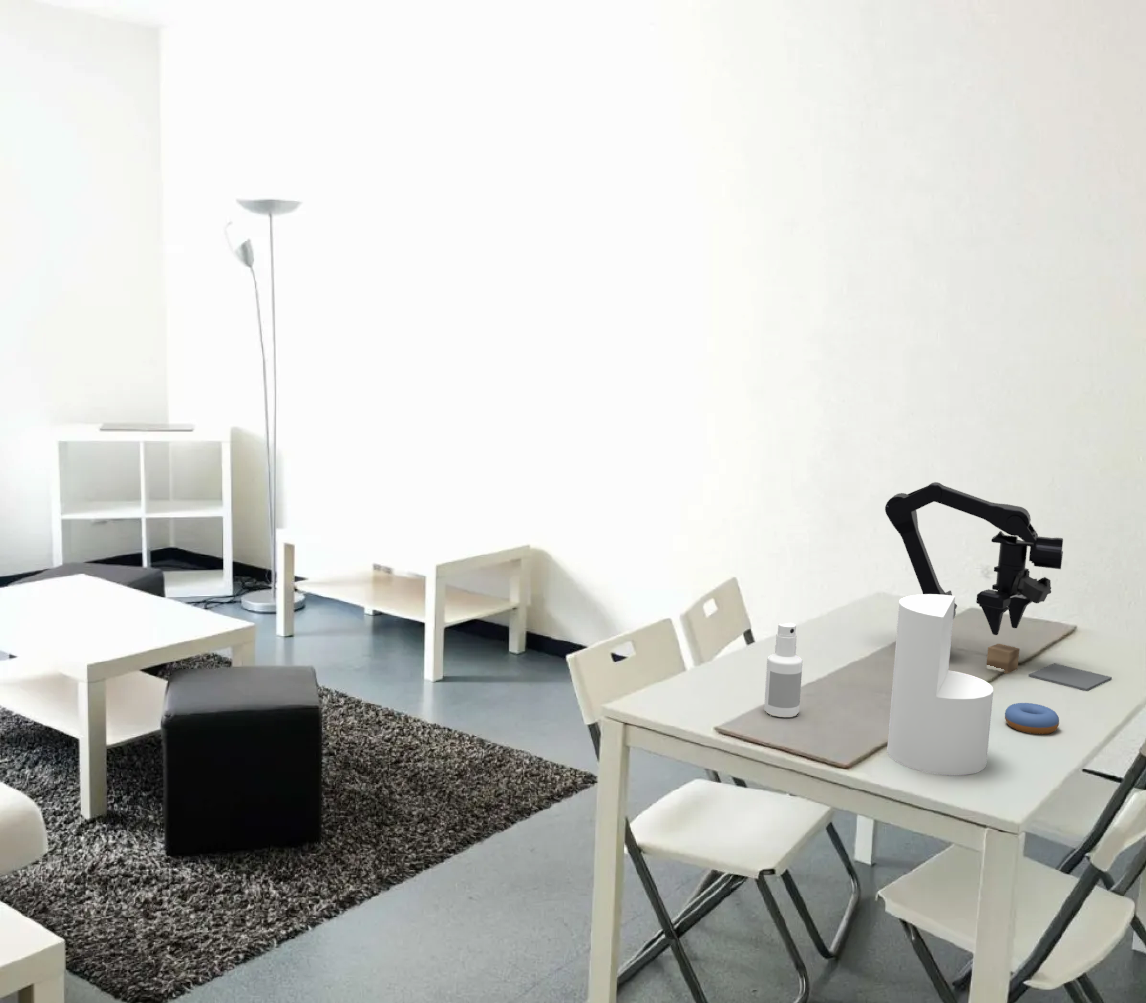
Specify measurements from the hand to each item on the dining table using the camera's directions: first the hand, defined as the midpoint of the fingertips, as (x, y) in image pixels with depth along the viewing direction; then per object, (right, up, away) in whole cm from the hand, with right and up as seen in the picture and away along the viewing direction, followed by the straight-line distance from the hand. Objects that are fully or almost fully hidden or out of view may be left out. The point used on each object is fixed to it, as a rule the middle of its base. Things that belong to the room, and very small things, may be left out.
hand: (1004, 631), depth 272 cm
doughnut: (-8, -15, -36) cm, 40 cm away
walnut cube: (0, -9, +1) cm, 9 cm away
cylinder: (-32, -17, -53) cm, 64 cm away
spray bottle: (-56, -13, -33) cm, 66 cm away
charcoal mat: (+13, -10, -4) cm, 17 cm away
